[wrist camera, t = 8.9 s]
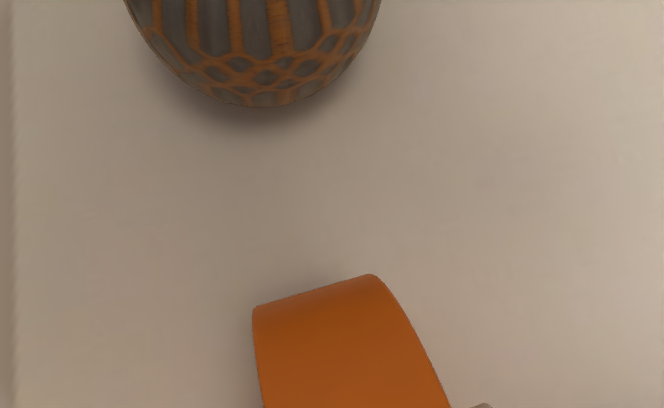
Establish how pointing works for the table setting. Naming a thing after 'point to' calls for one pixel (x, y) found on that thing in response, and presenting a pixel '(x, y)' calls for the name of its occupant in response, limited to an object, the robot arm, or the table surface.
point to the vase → (255, 44)
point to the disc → (342, 351)
